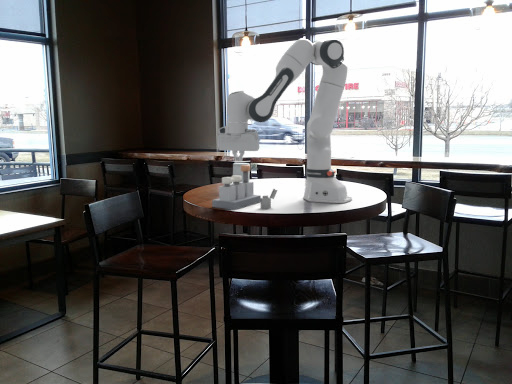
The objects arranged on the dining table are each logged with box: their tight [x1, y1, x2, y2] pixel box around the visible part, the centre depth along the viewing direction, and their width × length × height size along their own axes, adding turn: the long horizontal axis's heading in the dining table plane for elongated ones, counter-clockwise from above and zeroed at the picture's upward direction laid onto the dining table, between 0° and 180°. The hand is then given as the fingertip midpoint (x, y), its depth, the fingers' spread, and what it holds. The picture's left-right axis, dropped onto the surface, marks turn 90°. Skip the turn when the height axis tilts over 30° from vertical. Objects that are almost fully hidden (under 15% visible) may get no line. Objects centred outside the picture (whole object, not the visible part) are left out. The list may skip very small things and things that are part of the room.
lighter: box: [260, 188, 278, 209], centre depth 188 cm, size 7×2×8 cm, turn 105°
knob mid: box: [231, 174, 242, 185], centre depth 196 cm, size 4×4×9 cm
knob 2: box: [241, 164, 251, 183], centre depth 201 cm, size 4×4×9 cm
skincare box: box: [232, 162, 251, 184], centre depth 233 cm, size 8×6×15 cm
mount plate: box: [211, 181, 262, 211], centre depth 196 cm, size 12×20×9 cm, turn 147°
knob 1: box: [221, 176, 233, 187], centre depth 190 cm, size 4×4×9 cm
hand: (238, 161), depth 195 cm, fingers closed
